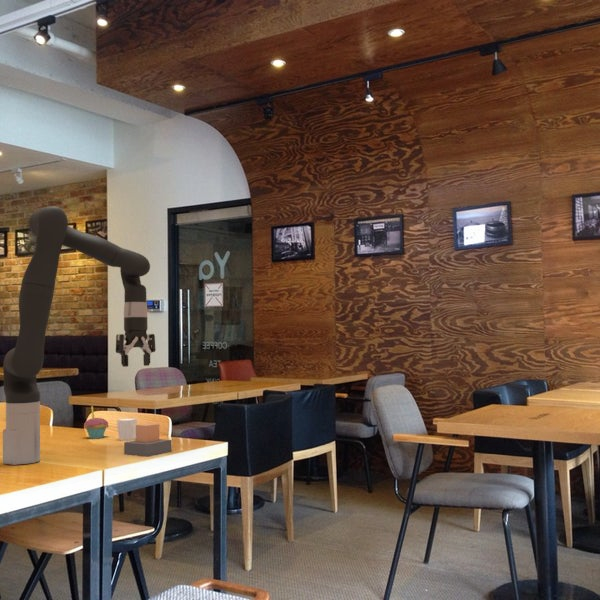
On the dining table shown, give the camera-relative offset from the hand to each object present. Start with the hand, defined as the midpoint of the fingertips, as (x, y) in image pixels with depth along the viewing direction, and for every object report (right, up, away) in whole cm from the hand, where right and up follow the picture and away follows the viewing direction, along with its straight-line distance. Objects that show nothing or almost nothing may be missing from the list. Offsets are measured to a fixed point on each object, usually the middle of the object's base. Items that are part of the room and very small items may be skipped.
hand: (136, 366), depth 225 cm
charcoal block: (+7, -26, -14) cm, 30 cm away
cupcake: (-20, -28, +24) cm, 42 cm away
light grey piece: (-7, -28, +17) cm, 33 cm away
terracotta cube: (+7, -22, -14) cm, 27 cm away
